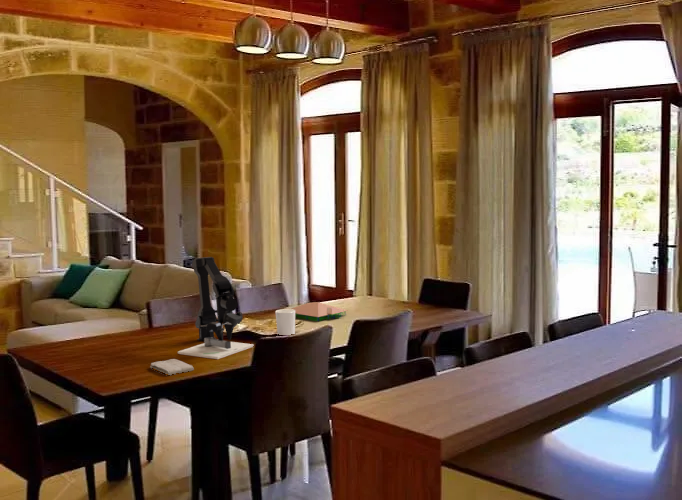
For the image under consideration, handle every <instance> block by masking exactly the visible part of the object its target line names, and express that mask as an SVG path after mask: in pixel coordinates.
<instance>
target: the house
mask: <svg viewBox="0 0 682 500" xmlns="http://www.w3.org/2000/svg"><path fill="white" fill-rule="evenodd" d="M290 309H293V310H295V317H297V316H299V318H303V316H305V320H306V321H307V320H308V319H309V317H311V319H310V321H313V322H321V321H322V320H324V318H327V320H330V318H336V319H339V318H341V316H343V315H346V312H347V311H349V309H345V308H342V307H341V308H340V307H337V306H333V305H329V304H326V303H322V302H316V301H313V302H307V303H303V304H300V305H297V306H295V307H292V308H290Z"/></svg>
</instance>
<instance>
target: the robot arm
mask: <svg viewBox="0 0 682 500" xmlns="http://www.w3.org/2000/svg"><path fill="white" fill-rule="evenodd" d="M191 263H192V264H191V265H192V268H193V271H194V273H195V275H196V276H197V280H198V281H197V282H198V290H199V302H200V304H199V305H200V307H199V310H198V312H197V317H196V320H195V322H194V325H195V328H196V329H198V337H199V338H197V339H196V340H197V341H203V342H204V338H206V337H213V338H214V339H219V340H224V331H225V333H226V337H227V339H228V340H227V341H229V340H231V339H232V335H233V332H234V328H235V327H236V326H237V325H239V324H240V323H242V320H243V319H244V318H243V313H242V312H241V311H238V312H235V313H234V312H233V311H235V310H237V308H238V306H239V305H238V304H239V303H238V301H237V299H235V298H234V296H235V290H234V287H233V285H232V282H230V280H229V279H228V277H226V276H225V275H223V274H222V273H221V271H220V270H219V267H218V266H217V264H216V261H215V258H214V257H213V256H206V257H195V258H194V259H193V260H192V262H191ZM209 277H210V278H211V280H212V282H213V283H212V285H211V286H212V289H213V292H214V297H215V302H216V309H214V308H213V307H212V305H211V294H210V284H209ZM215 336H216V337H217V338H216V337H215Z"/></svg>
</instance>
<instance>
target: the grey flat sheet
mask: <svg viewBox="0 0 682 500" xmlns="http://www.w3.org/2000/svg"><path fill="white" fill-rule="evenodd" d="M230 342H231V348H229V349H226V348H222V347H217V346H210V347H206V346H205V344H204V342H203V343H201V344H197V345H194V346H191V347H188V348H184V349H181V350H179V351H177V354H179V355H185V356H192V357H198V358H199V357H200V358H207V359H215V360H219V359H223V358H225V357H228V356H232V355H233V354H236V353H239V352H242V351H245V350H247V349H251V348H254V347H255V346H254V344H253V343H251V344H250V343H246V342H245V343H243V342H237V341H236V342H235V341H230ZM253 346H254V347H253Z"/></svg>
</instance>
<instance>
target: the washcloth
mask: <svg viewBox="0 0 682 500" xmlns="http://www.w3.org/2000/svg"><path fill="white" fill-rule="evenodd" d="M149 368H150V369H152V368H154V369H156V370H158V371H160V372H163V373H165V374H168V375H170V376H173V375H172V374H174V375H177V374H176V373H179V374H183V373H182V372H184V373H187V372H188V371H189V372H192V371H194V370H195V369H194V367H193V365H192V364H188V363H186V362H185V361H182V360H179V359H176V358H170V359H167V360H162V361H161V360H160V361H155V362H151V363H150V366H149ZM160 372H159V373H160Z"/></svg>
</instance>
